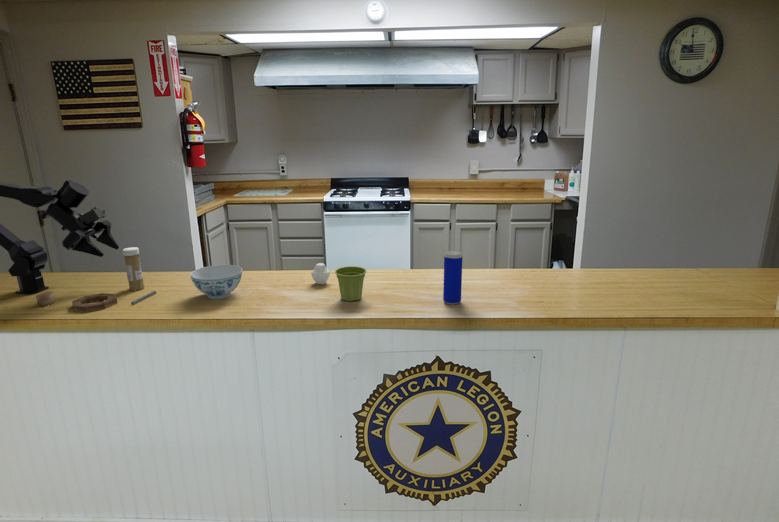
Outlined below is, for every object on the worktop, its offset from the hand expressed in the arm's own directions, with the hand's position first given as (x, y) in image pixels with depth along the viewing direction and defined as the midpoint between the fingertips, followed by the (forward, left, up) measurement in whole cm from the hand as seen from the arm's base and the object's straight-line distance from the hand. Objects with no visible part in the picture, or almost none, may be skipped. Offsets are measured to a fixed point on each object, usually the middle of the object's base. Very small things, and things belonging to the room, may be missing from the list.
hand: (110, 252), depth 151 cm
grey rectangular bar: (+15, -6, -12) cm, 21 cm away
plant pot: (+77, +6, -13) cm, 78 cm away
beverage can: (+107, +8, -13) cm, 108 cm away
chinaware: (+36, +1, -13) cm, 38 cm away
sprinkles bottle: (+6, +2, -13) cm, 14 cm away
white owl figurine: (+63, +18, -13) cm, 67 cm away
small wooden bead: (-11, -15, -12) cm, 23 cm away
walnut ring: (+4, -13, -12) cm, 19 cm away
